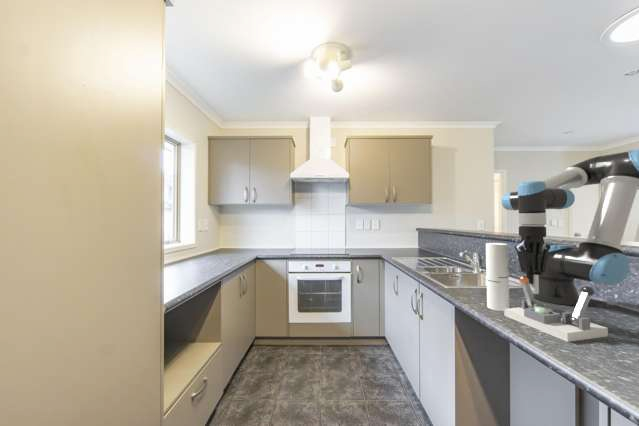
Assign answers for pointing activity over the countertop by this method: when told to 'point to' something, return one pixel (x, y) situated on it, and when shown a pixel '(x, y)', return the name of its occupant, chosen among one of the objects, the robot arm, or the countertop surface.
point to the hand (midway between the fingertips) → (533, 292)
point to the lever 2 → (581, 306)
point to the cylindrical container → (497, 276)
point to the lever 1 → (527, 291)
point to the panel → (556, 323)
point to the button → (542, 310)
